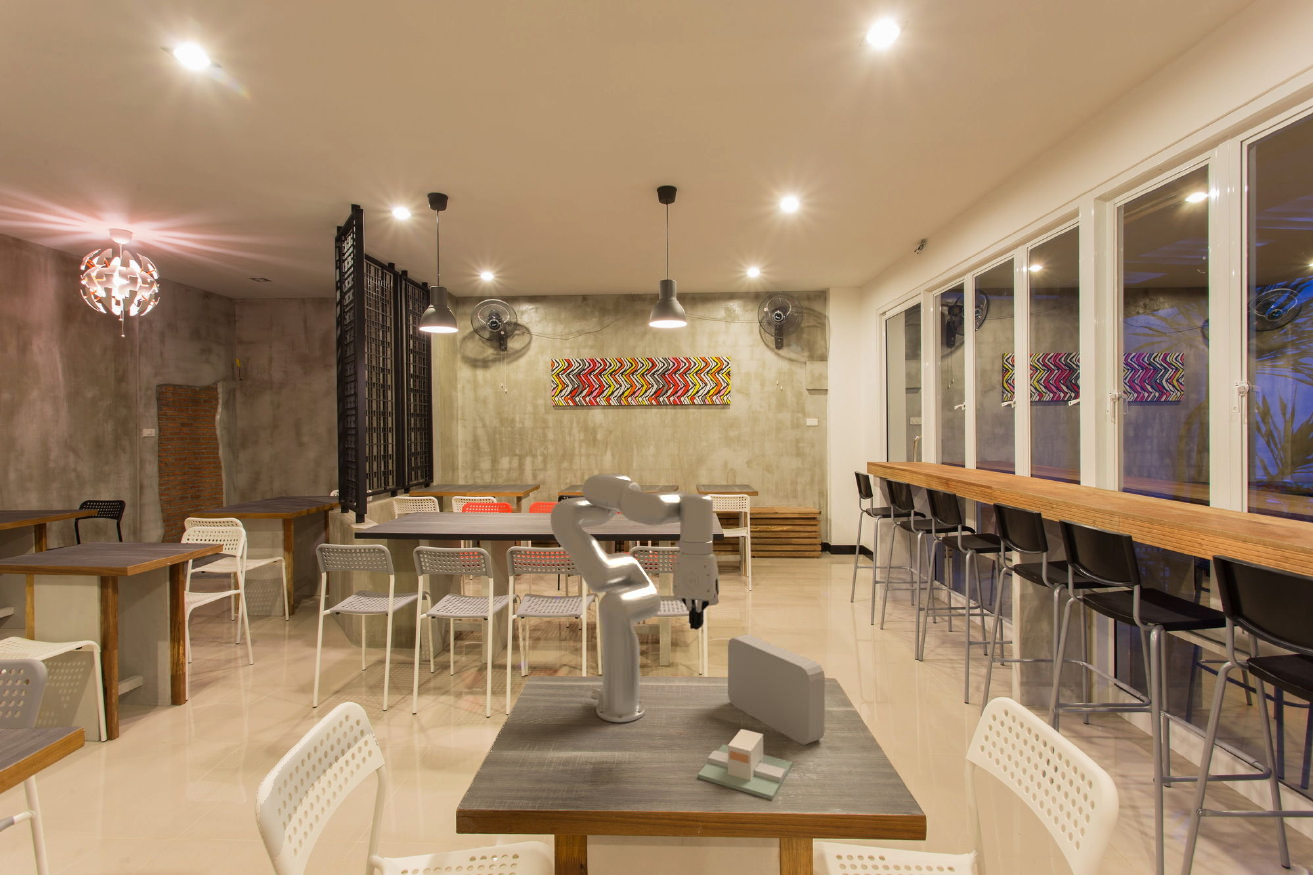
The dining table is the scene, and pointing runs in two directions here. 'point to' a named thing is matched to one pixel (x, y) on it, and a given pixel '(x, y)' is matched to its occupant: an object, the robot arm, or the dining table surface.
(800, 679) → the grey rounded block
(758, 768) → the rail board
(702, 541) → the robot arm
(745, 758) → the block
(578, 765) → the dining table surface
